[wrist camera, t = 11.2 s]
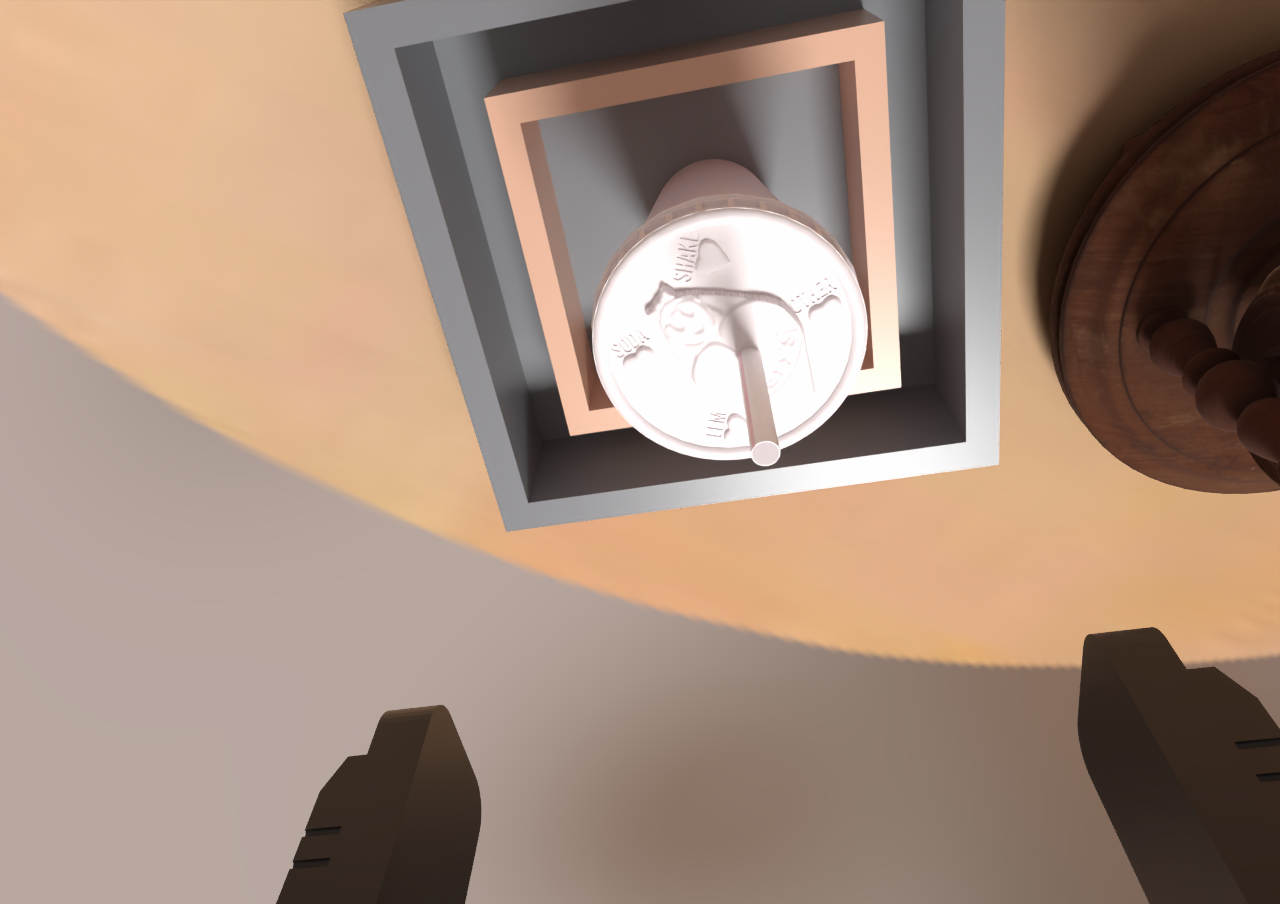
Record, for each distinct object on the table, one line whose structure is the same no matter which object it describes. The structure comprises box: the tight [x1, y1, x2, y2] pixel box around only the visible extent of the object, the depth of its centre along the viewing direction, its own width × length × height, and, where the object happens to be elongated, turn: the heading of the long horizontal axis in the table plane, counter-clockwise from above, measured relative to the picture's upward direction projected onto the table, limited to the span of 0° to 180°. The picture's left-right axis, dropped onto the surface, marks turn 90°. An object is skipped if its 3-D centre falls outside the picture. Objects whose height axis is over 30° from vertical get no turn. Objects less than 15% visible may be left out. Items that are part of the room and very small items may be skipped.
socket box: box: [343, 0, 1005, 532], centre depth 28 cm, size 16×16×5 cm
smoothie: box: [591, 159, 868, 466], centre depth 24 cm, size 6×6×14 cm
